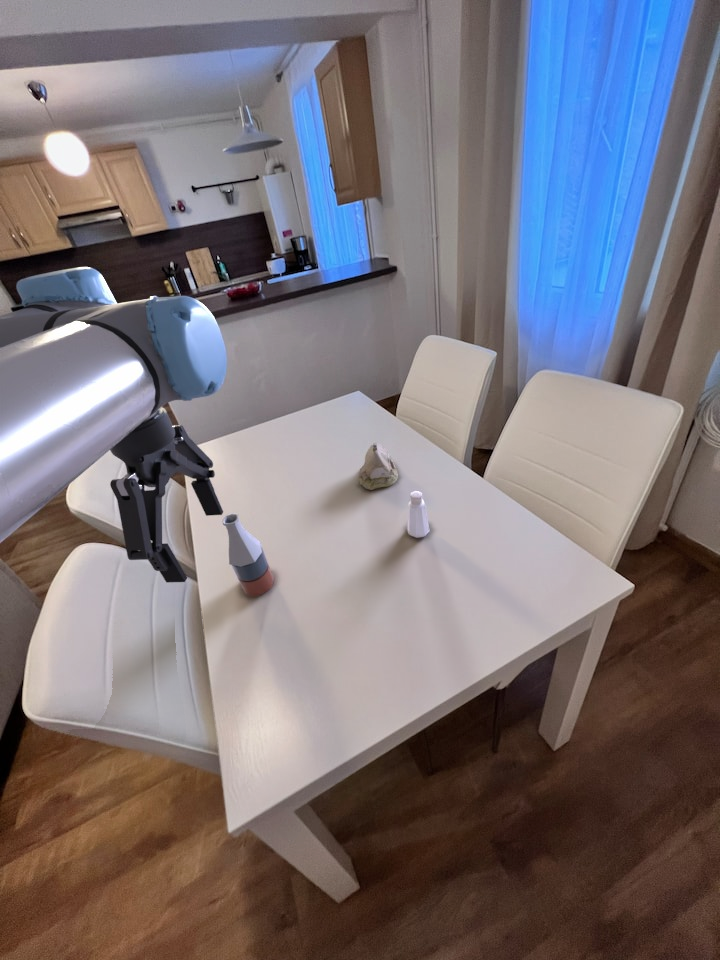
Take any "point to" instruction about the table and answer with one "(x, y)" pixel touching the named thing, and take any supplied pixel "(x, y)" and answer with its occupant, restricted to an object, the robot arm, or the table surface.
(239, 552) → the flask
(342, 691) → the table surface
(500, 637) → the table surface
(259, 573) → the cup stack
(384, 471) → the ceramic model
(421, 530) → the pepper shaker
